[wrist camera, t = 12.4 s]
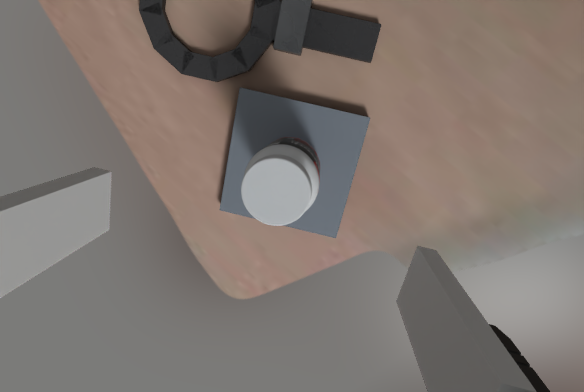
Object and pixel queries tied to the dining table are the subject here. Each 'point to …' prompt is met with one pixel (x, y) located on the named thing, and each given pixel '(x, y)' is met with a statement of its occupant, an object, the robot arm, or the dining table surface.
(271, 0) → the iron eye
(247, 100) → the slate trivet
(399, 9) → the dining table surface
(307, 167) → the pill bottle
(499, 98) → the dining table surface
